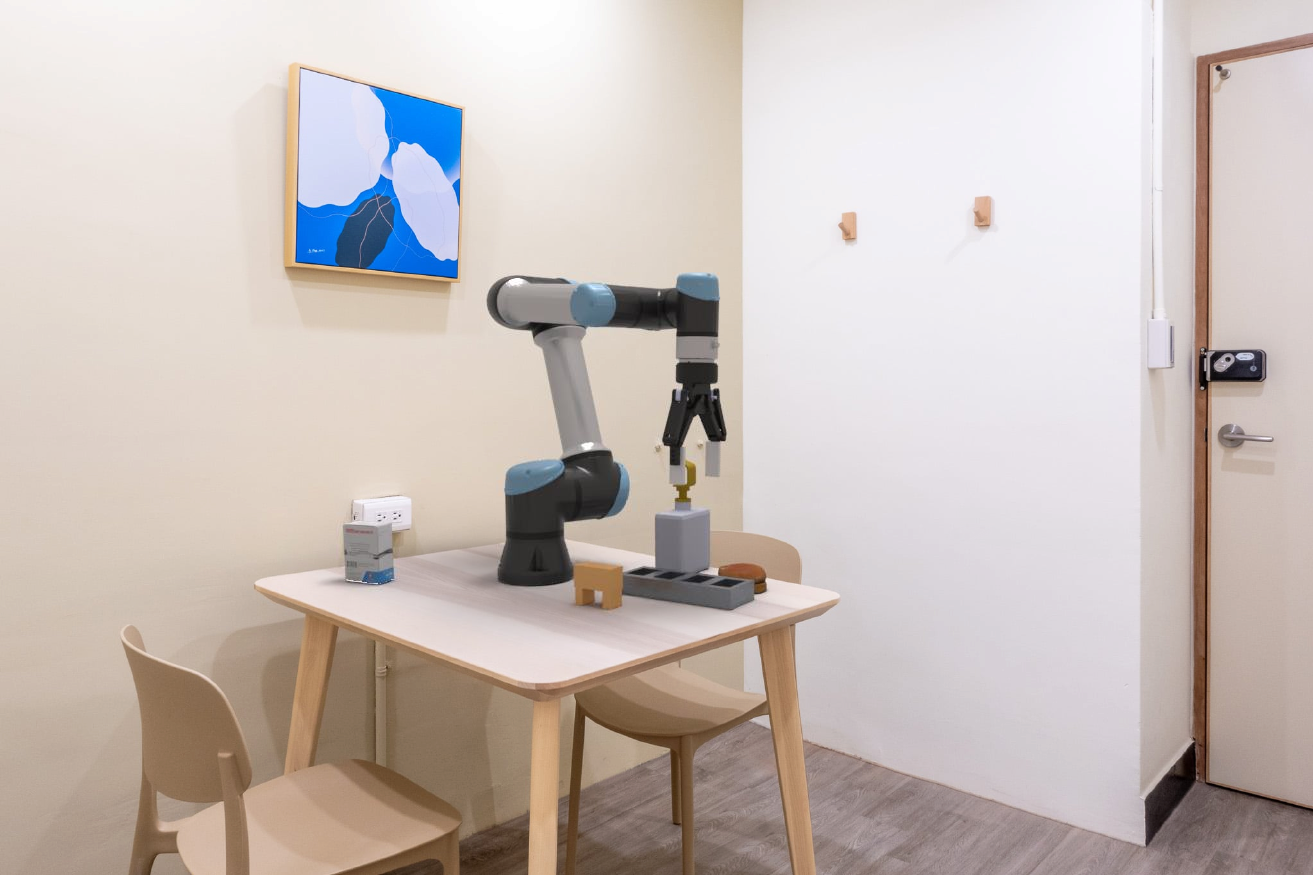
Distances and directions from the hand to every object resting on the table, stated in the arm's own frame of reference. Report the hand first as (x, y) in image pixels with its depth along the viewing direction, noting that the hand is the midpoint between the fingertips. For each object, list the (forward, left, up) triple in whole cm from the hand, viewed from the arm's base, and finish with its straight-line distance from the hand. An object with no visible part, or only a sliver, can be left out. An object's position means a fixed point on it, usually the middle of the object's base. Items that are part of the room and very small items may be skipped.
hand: (695, 480), depth 159 cm
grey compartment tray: (-3, +1, -22) cm, 22 cm away
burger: (+3, +11, -22) cm, 25 cm away
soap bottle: (-14, +19, -22) cm, 32 cm away
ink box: (-62, -22, -22) cm, 70 cm away
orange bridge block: (-12, -13, -22) cm, 28 cm away
